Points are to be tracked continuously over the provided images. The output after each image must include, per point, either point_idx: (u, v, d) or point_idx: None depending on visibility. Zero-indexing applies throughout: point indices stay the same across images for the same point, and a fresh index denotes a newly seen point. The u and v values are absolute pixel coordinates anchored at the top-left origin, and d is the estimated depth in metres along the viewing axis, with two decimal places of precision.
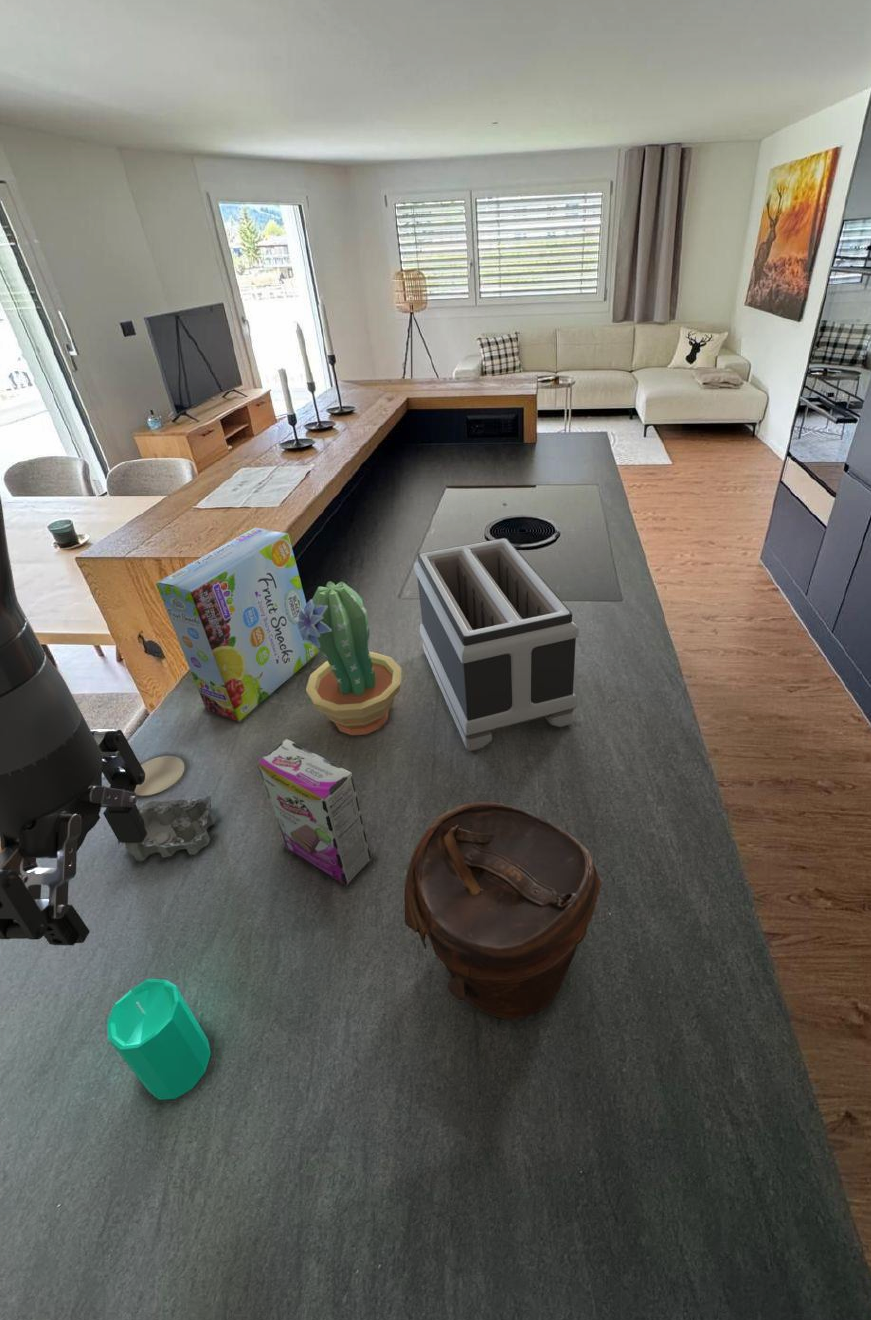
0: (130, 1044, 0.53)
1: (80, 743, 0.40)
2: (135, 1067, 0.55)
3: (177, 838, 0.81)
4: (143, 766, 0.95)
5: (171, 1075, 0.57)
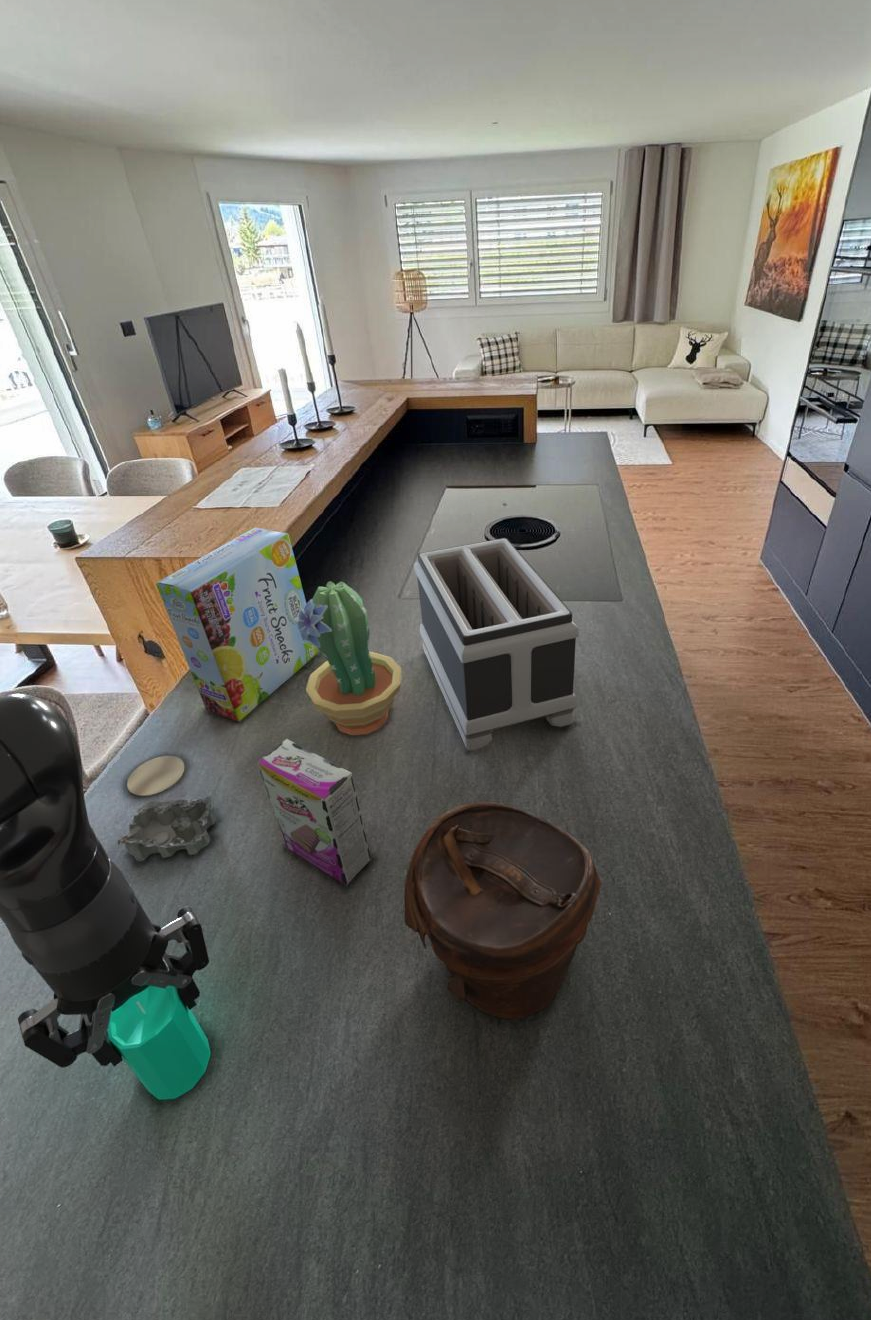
0: (130, 1044, 0.53)
1: (107, 963, 0.46)
2: (135, 1067, 0.55)
3: (177, 838, 0.81)
4: (143, 766, 0.95)
5: (171, 1075, 0.57)
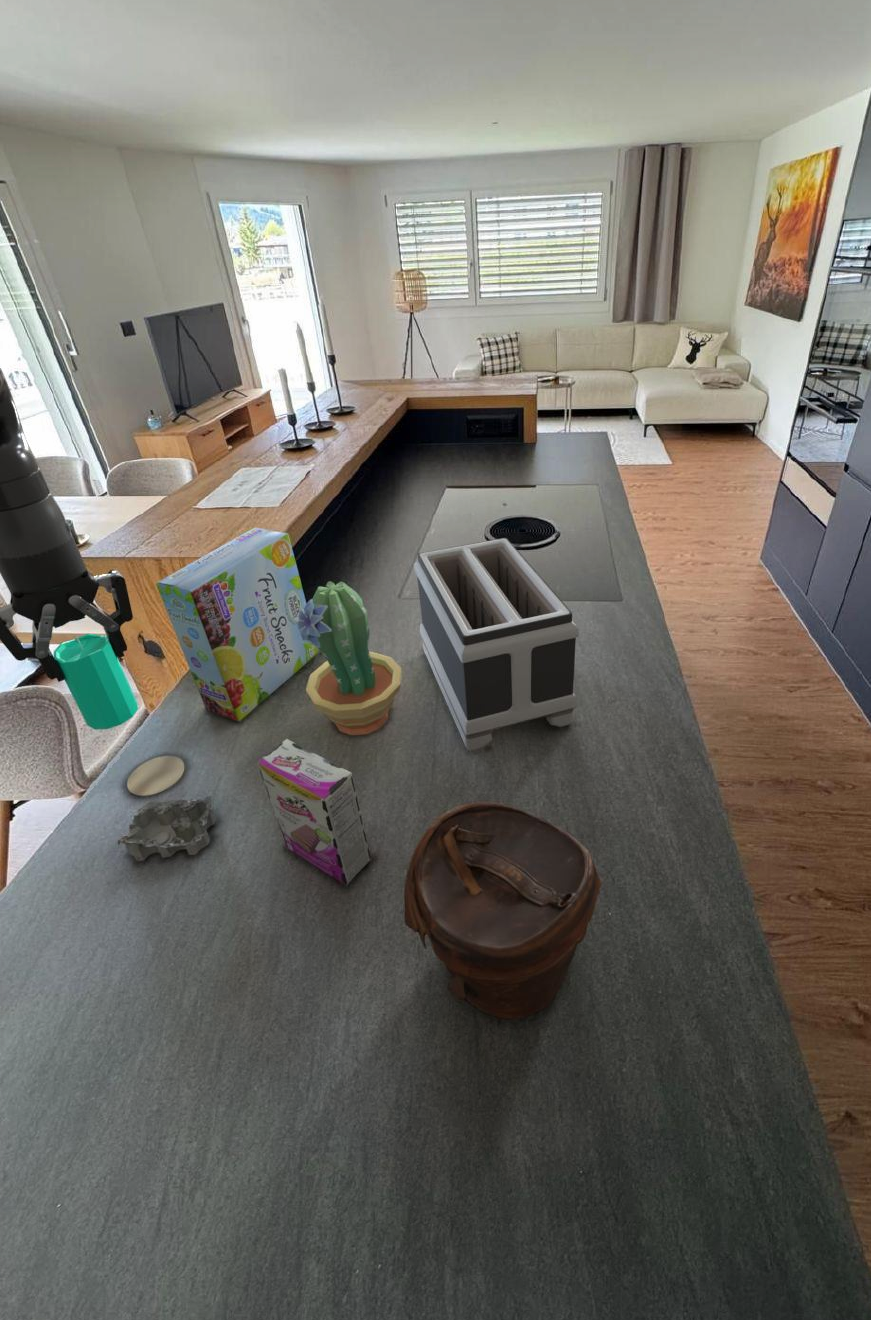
0: (69, 660, 0.71)
1: (46, 561, 0.64)
2: (74, 686, 0.73)
3: (177, 838, 0.81)
4: (143, 766, 0.95)
5: (102, 703, 0.74)
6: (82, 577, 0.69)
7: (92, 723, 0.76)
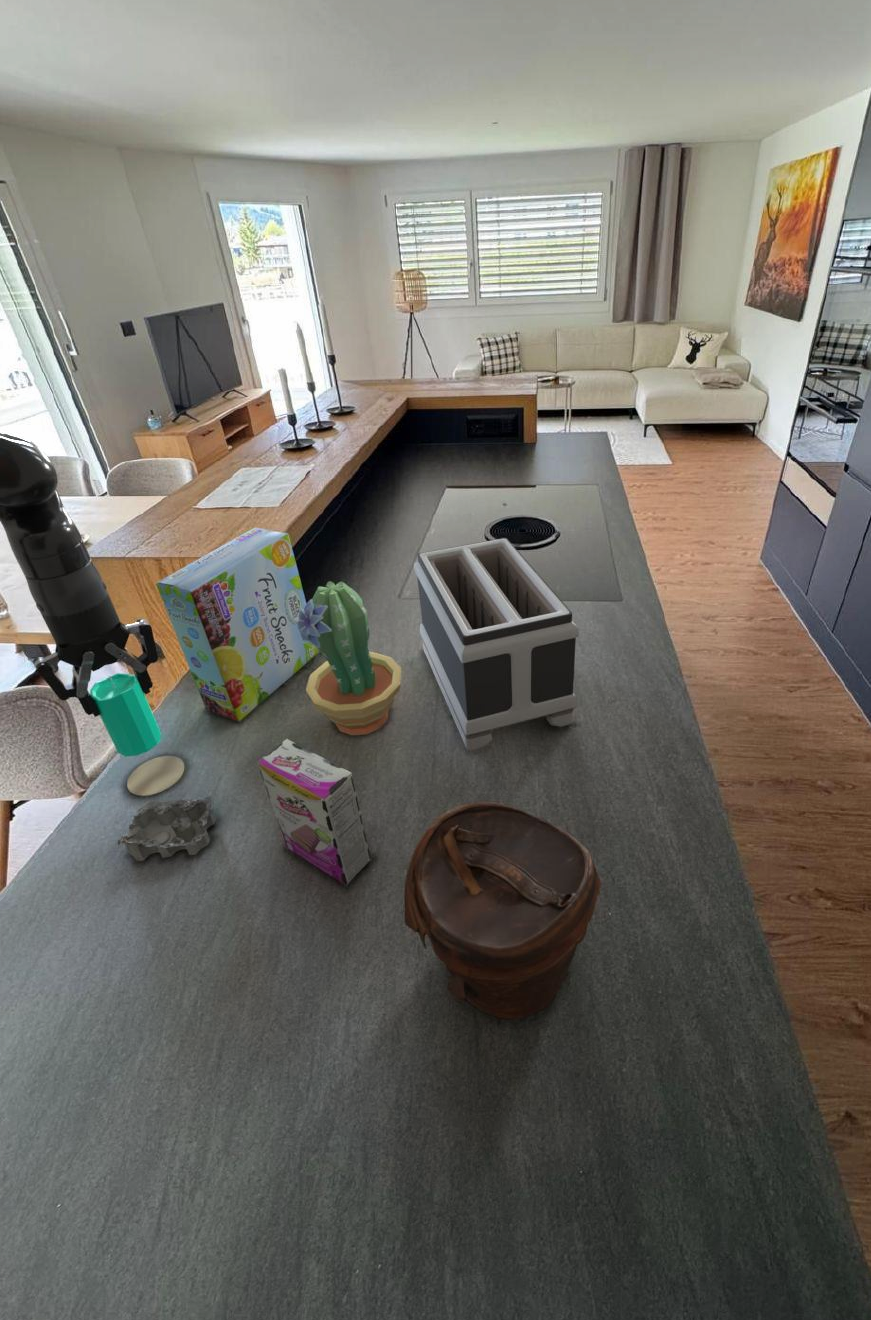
0: (105, 698, 0.82)
1: (88, 617, 0.75)
2: (108, 720, 0.84)
3: (177, 838, 0.81)
4: (143, 766, 0.95)
5: (132, 733, 0.86)
6: (116, 627, 0.81)
7: (123, 751, 0.87)
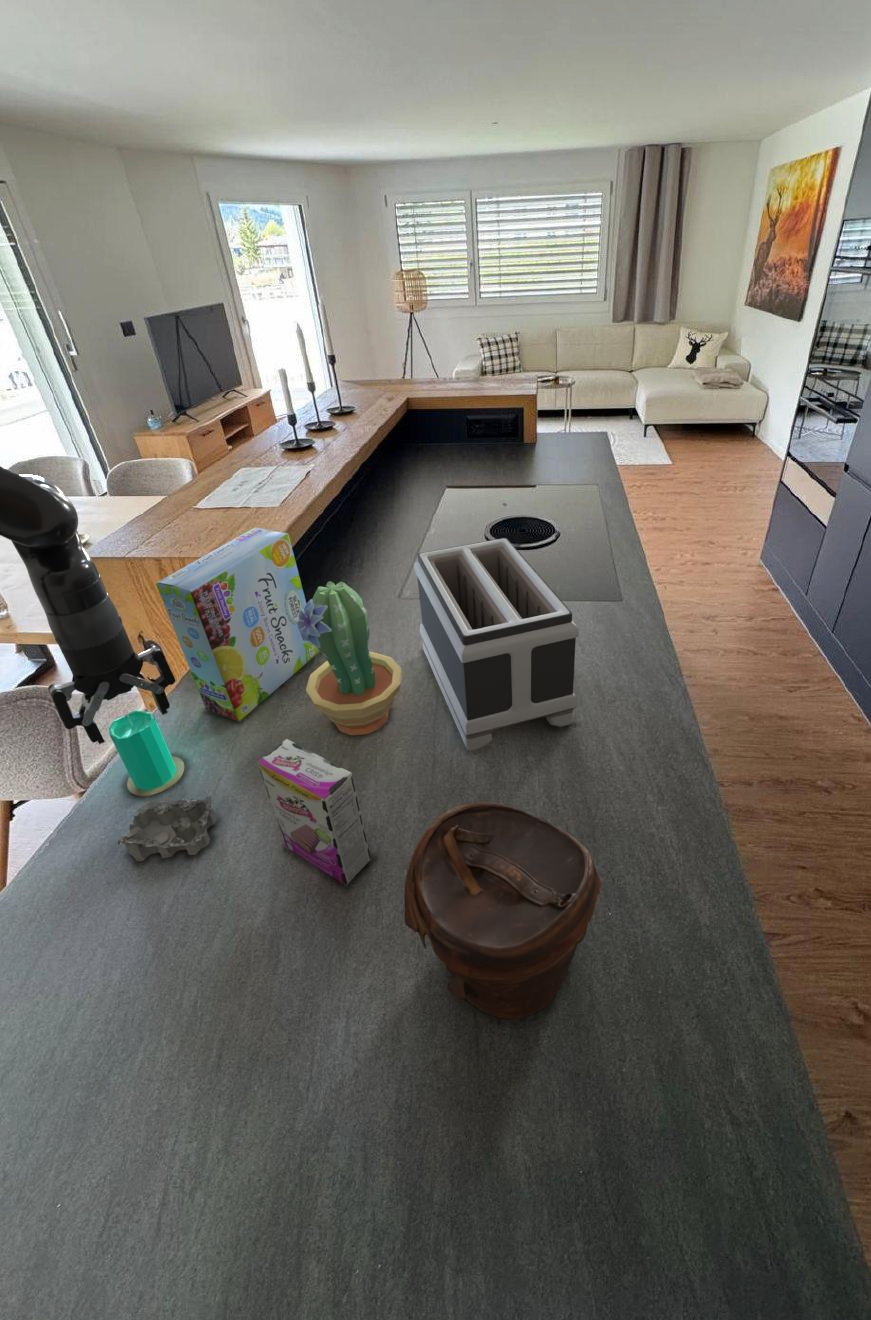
0: (123, 737, 0.86)
1: (104, 650, 0.78)
2: (126, 757, 0.87)
3: (177, 838, 0.81)
4: None
5: (149, 768, 0.89)
6: (130, 658, 0.83)
7: (140, 785, 0.91)
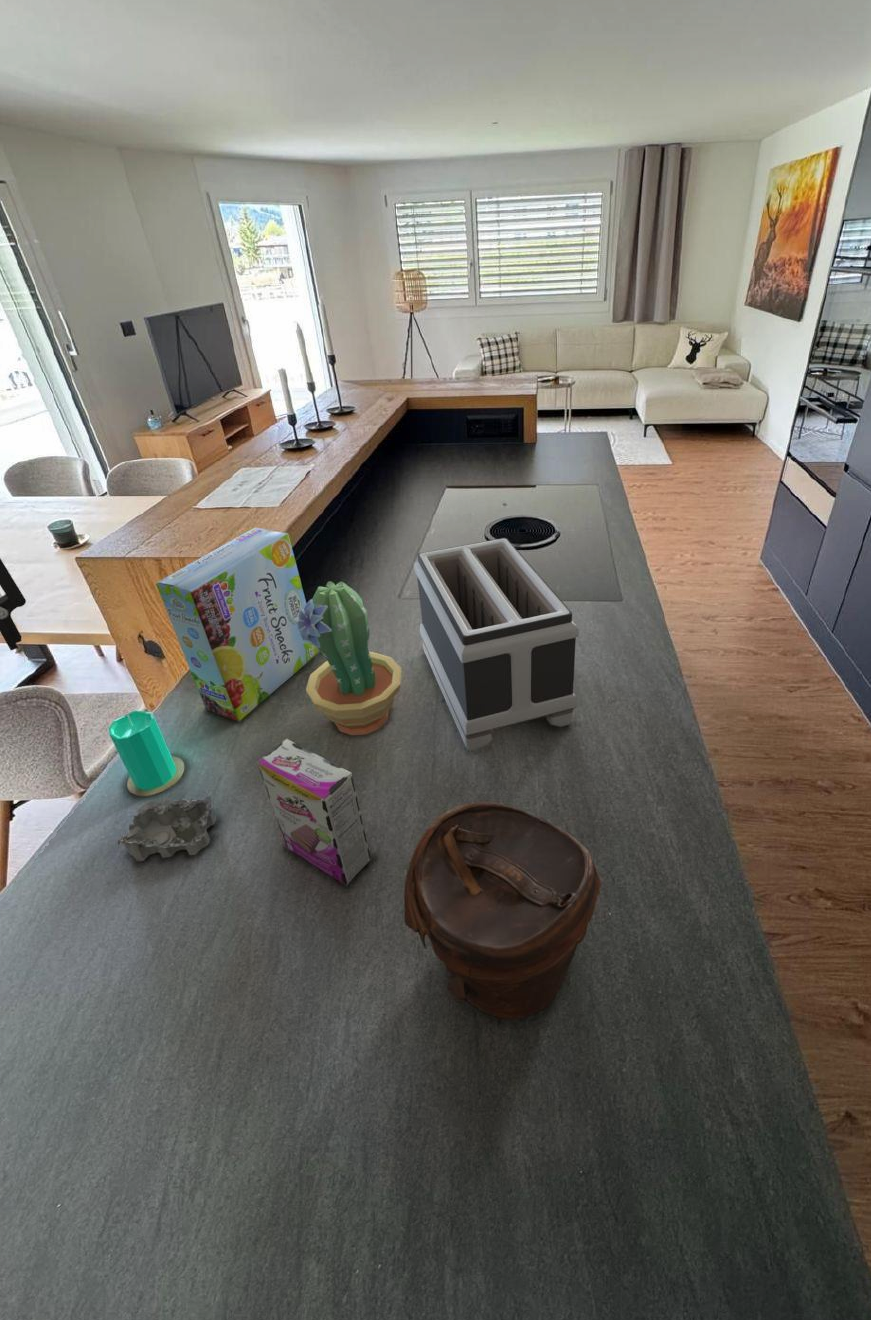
0: (123, 737, 0.86)
1: None
2: (126, 757, 0.87)
3: (177, 838, 0.81)
4: None
5: (149, 768, 0.89)
6: None
7: (140, 785, 0.91)
